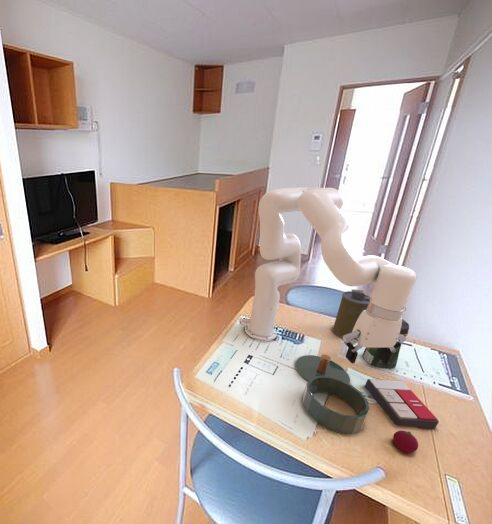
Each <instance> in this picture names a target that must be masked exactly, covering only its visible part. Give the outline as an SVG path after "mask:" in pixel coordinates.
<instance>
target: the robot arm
mask: <svg viewBox="0 0 492 524" xmlns="http://www.w3.org/2000/svg"><path fill="white" fill-rule="evenodd" d="M344 201H345V200H344V196H343V194H342V192H340V191H339V190H338V189H337V188H334V187H313V186H311V187H309V186H302V187H301V186H300V187H299V186H297V187H284V188H275V189H272V190H269V191H267V192H266V193H264V194H263V195H262V197H261V198H260V200H259V203H258V209H257V210H258V218H259V254H260V256H261V257H262V258H263V259H264V260H268V261H271V262H265V263H263V264H260V265H259V266H258V267H257V268H256V270H255V272H254V281H255V282H254V284H255V285H254V295H253V300H252V308H251V312H250V317H249V318H247V319H246V318H243V317H239V318H238V322H239V323H240V325H241V326H243V327H244V332H245V333H246V335H247V336H249V337H250V338H252V339H254V340H259V341H265V342H268V341H272V340H275V339H276V338H277V335H278V332H277V331H276V328H275V324H276V320H277V315H278V311H279V310H278V309H279V304H280V298H281V296H280V292H279V290H278V289H279V287H280V286H283V285H289V284H292V283H294V282H297V280H298V279H299V277H300V274H301V264H302V263H301V260H302V244H301V243H302V242H301V241H300V238H299V237H298V236H297V235H296V234H295V233H292V232H285V221H284V218H283V216H282V215H281V214H284V213H293V212H301V214H302V215H303V216H304V217H305V219H306V220H307V222H308V223H309V224H310V226H311V227H312V228H313V229H314V231H315V232H316V234H317V235H318V236H319V238H320V249H321V255H322V260H323V261H324V263H325V265H326V266H327V268H328V270H329V271H330V273H332V275H333V276H334V278H336V279H337V281H339V282H340V283H341V284H343V285H344V286H347V287H360V286H363V285H367V284H374V286H373V289H372V292H371V295H370V301H369V304H368V307H367V310H363V312H362V313H361V314H360V316H359V318H358V320H357V322H356V324H355V326H354V328H353V331H352V332H351V333H349V334H346V335H344V336H343V338H342V339H343V343H344V344H345V345H346V347H347V350H346V353H345V358H346V359H347V360H348V362H349V363H350V364H352V365H354V364H355V363H356V360H357V357H358V356H359V355H358V354H359V353H358V351H359V350H361V349H362V348H366V347H377V348H379V347H381V349H380V352H379V355H378V358H380V359H381V360H382V361H383V362H384V363H385V364H388V362H389V360H390V357H391V355H392V352H395V351H396V349H397V348H398V347H400V346H401V347H402V344H404V342H405V341H406V340H407V337H404V336H403V335H401V334H399V333H400V330H401V325H402V319H403V317H402V316H403V315H404V312H405V311H407V305H408V302H409V299H410V296H411V294H412V292H413V291H412V290H413V289H414V287H415V284H416V280H417V273H416V271H414V270H412V269H411V268H408V267H406V266H402V265H397V264H394V263H393V262H390V261H388V260H387V259H385V258H383V257H381V256H379V255H365V256H359V257H353V256H352V255H351V253H350V252H349V251H348V249H347V248H346V246H345V244H344V239H343V235H344V233H346V231H347V230H348V229H349V228H350V222H349V220H348V219H347V217H346V216H345V215H344V214H343V213H342V212H341V209H342V207H343V205H344ZM278 259H279V260H278ZM272 260H276V261H272ZM352 339H353V340H352ZM401 343H402V344H401ZM354 345H355V346H354Z"/></svg>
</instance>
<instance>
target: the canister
mask: <svg viewBox="0 0 492 524" xmlns="http://www.w3.org/2000/svg"><path fill="white" fill-rule="evenodd" d="M341 295H342V296H341V300H340V303H339V307H338V311H337V313H336V317H335V320H334V323H333V326H332V327H331V328H332V329H331V330H332V332H333V334H334V335H336V336H338V337H339V338H341V339H343V336H344V335H346V334H349V333H351V332H352V331H353V328H354V326H355V324H356V322H357V320H358V318H359V316H360V314H361V313H362V312H363V310H367V307H368V304H369V301H370V298H371V296H369V295H367V294H365V292H364V291H363V289H351V290H348V291H343V292H342V294H341ZM352 340H353V339H352ZM352 340H351V341H352Z"/></svg>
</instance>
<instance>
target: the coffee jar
mask: <svg viewBox="0 0 492 524" xmlns="http://www.w3.org/2000/svg"><path fill="white" fill-rule="evenodd" d="M409 330H410V324H409V323H408V322H407V321H406V320H405V319H404V318H402V325H401V330H400V333H399V334H401V335H403V336H404V337H405V338H407V336H408V334H409ZM402 344H403V343H401V346H400V347H398V348H397V349H396V351H395V352H392V355H391V357H390V360H389V362H388V364H385V363H384V362H383V361H382V360H381V359H380V358H378V355H379V352H380V349H381V347H379V348H377V347H364V350H363V352H362V359H363V360H364V361H365V362H366V364H368V365H370V366H372V367H374V368H380V369H394V368H396V366H397V363H398V360H399V355H400V351H401V348H402Z"/></svg>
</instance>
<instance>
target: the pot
mask: <svg viewBox="0 0 492 524" xmlns="http://www.w3.org/2000/svg"><path fill="white" fill-rule="evenodd" d="M314 393H326V394H329V395H332V396H335V397H337V398H338V399H341V400H342V401H344V402H346V403H347V404H348V405H349V406H351V408H353V410H354V411H355V413H356V415H351V414H343V413H340V412H337V411H334V410H332V409H330V408H328V407H327V406H325V405H323V404H322V403H321V402H320V401H319V400H317V398H316V397H315V396H314V395H313V394H314ZM302 405H303V407H304V410H305V412H306V413H307V415H309V416H310V417H311V418H312V419H313V420H314V421H315V422H316V423H317V424H319V425H321V426H322V427H324V428H326V429H328V430H330V431H333V432H336V433H339V434H347V435H349V434H350V435H352V434H355V433H358V432H360V431H362V428H363V427H364V425H365V423H366V419H367V417H368V414H369V412H370V404H369V401H368V399H367V398H366V397H365V395H364V394H363V393H362V392H361V391H359V389H357V388H356V387H354V385H352V384H351V383H349V384H348V383H346V382H344V381H342V380H340V379H336V378H333V377H329V376H316V377H313V378H311V379H310V380H309V381H307V382H306V385H305V387H304V392H303V396H302Z"/></svg>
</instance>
